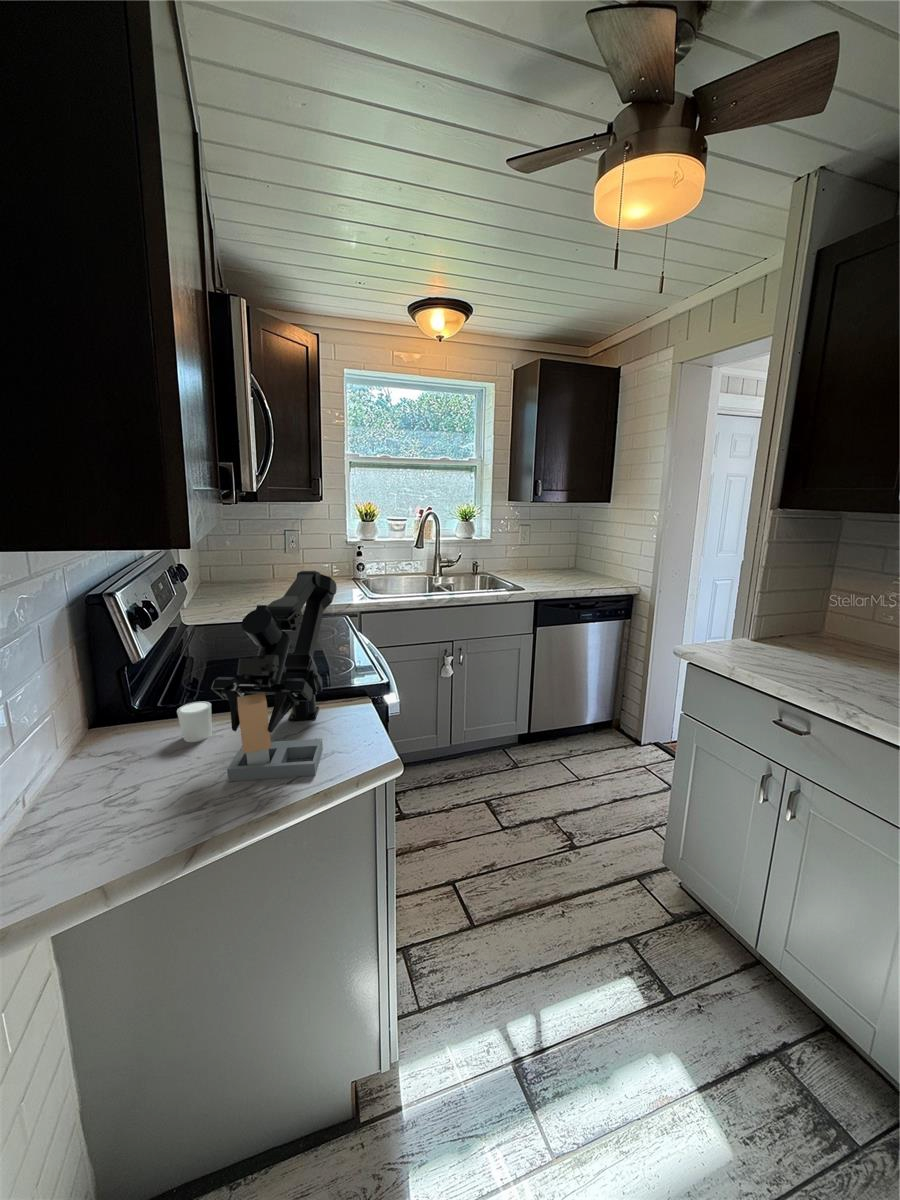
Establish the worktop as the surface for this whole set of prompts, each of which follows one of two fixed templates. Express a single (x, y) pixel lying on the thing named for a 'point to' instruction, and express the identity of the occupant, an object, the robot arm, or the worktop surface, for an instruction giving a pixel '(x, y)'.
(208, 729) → the white cylinder
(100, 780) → the worktop surface
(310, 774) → the socket block
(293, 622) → the robot arm
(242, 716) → the plug
